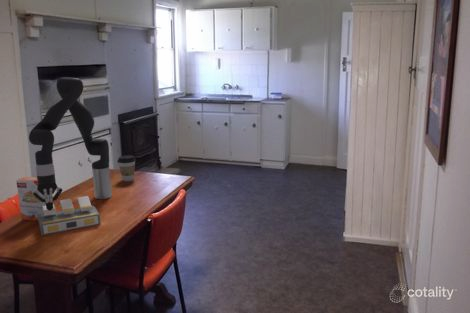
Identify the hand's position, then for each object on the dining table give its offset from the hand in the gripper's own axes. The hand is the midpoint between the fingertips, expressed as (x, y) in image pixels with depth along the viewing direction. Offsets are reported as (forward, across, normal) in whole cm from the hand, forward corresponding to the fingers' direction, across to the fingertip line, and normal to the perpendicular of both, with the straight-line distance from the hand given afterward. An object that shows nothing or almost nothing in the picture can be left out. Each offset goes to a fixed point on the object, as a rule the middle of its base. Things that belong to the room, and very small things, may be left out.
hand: (49, 209), depth 209 cm
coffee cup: (+8, -52, -65) cm, 84 cm away
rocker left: (+2, 0, -5) cm, 5 cm away
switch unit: (+10, -8, -3) cm, 13 cm away
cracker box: (+10, +5, -19) cm, 22 cm away
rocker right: (+2, -16, -5) cm, 17 cm away
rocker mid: (+1, -8, -5) cm, 9 cm away
